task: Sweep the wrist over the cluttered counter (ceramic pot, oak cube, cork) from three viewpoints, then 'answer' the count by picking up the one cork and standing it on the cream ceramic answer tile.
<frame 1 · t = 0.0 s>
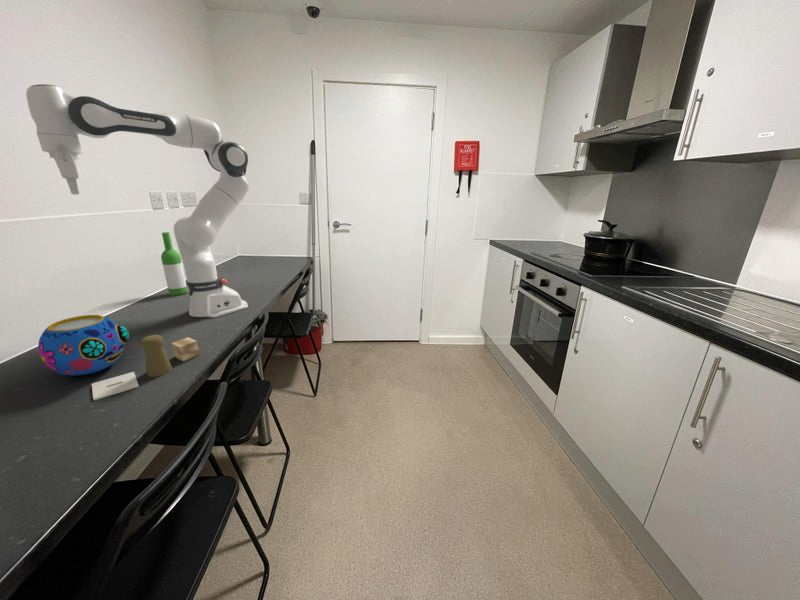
hand: (75, 194, 104), 48 cm above the breakfast bar, fingers open, 8 cm apart
oak cube: (187, 356, 103), on the breakfast bar
wine bottle: (178, 294, 161), on the breakfast bar
ceramic pot: (93, 369, 95), on the breakfast bar
cork: (159, 371, 94), on the breakfast bar
answer tile: (115, 385, 87), on the breakfast bar
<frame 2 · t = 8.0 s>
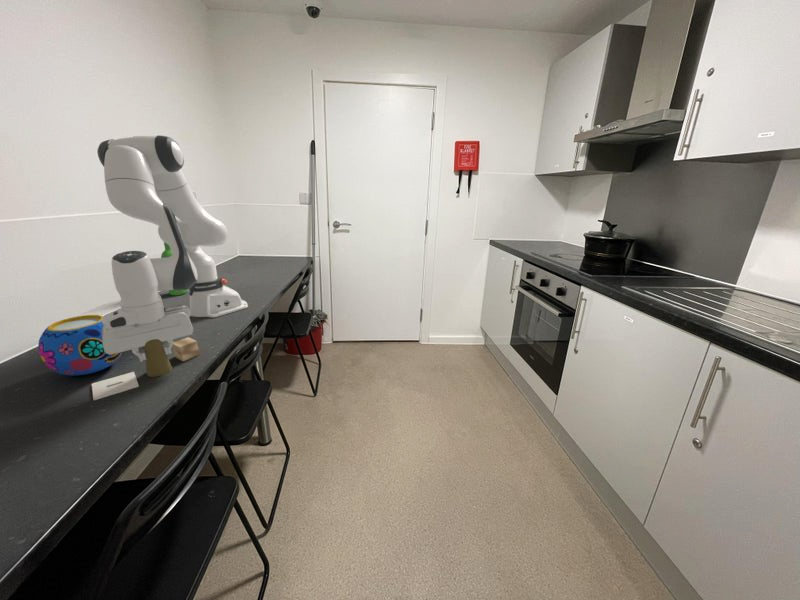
hand: (156, 356, 93), 5 cm above the breakfast bar, fingers closed on cork, 4 cm apart
cork: (159, 371, 94), on the breakfast bar, touching gripper
everything else where it was.
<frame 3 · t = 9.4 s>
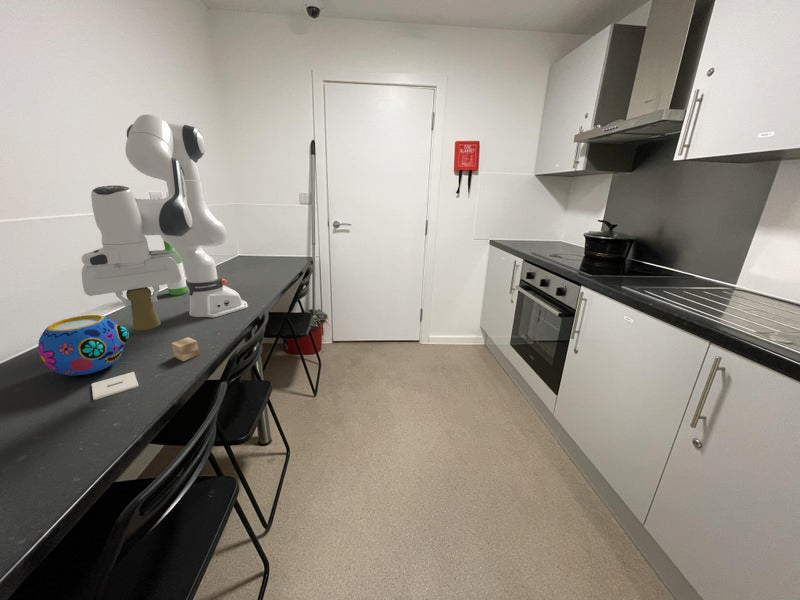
hand: (141, 303, 87), 21 cm above the breakfast bar, fingers closed on cork, 4 cm apart
cork: (147, 326, 90), point 14 cm above the breakfast bar, touching gripper
everything else where it was.
when the fingers open (6 cm above the breakfast bar, at t = 13.2 s): cork stays where it is, resting on answer tile.
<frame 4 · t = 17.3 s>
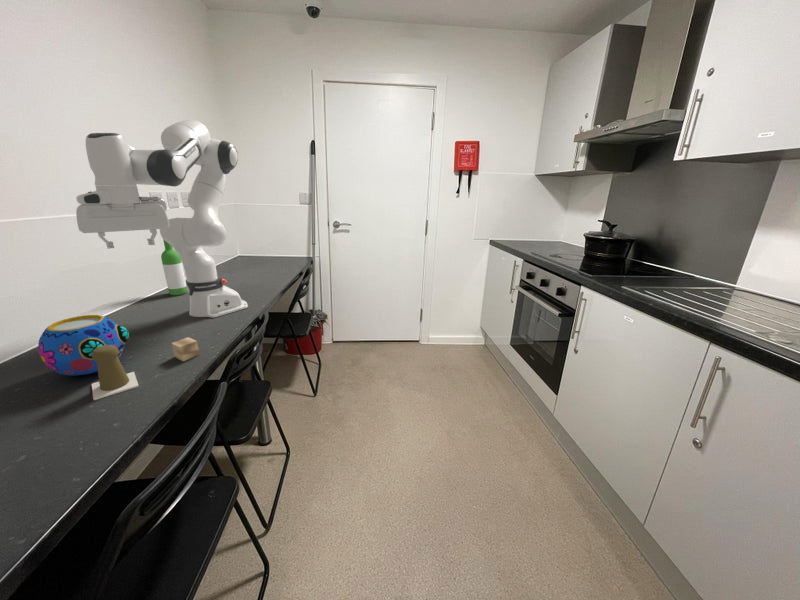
hand: (132, 246, 95), 34 cm above the breakfast bar, fingers open, 8 cm apart
cork: (115, 384, 87), resting on answer tile
everything else where it was.
at the end: cork inside the target area on the answer tile (0.0 cm from its centre), point 0.4 cm above the answer tile's base; cork tilted 0°; the gripper is holding nothing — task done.
